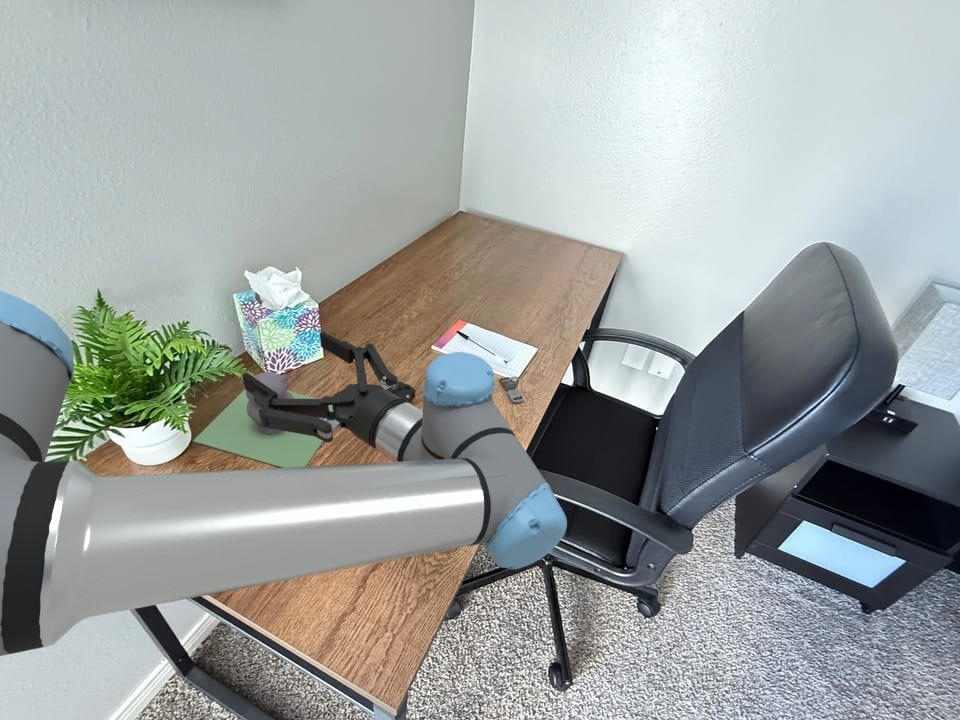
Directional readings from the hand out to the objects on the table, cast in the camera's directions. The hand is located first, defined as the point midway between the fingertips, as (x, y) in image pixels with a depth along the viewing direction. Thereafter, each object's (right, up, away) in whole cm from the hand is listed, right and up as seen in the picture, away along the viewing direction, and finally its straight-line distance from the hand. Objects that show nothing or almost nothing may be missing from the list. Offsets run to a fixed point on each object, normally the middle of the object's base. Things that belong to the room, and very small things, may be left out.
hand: (286, 358), depth 70 cm
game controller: (+11, -10, +30) cm, 34 cm away
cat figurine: (-11, -13, +22) cm, 28 cm away
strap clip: (+37, -8, +38) cm, 53 cm away
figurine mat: (-11, -13, +22) cm, 28 cm away
